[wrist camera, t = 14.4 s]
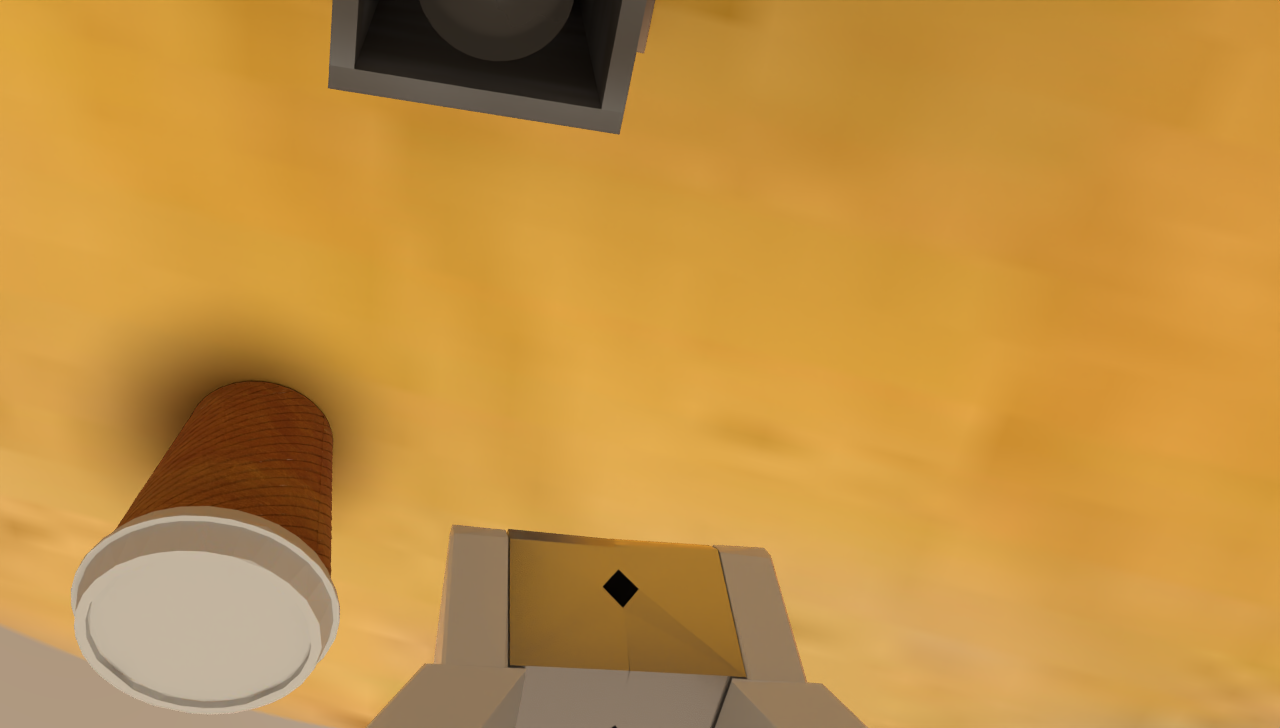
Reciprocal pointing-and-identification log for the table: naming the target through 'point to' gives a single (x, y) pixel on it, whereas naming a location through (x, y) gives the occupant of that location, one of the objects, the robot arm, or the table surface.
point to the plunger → (497, 25)
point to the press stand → (493, 63)
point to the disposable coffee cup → (219, 561)
